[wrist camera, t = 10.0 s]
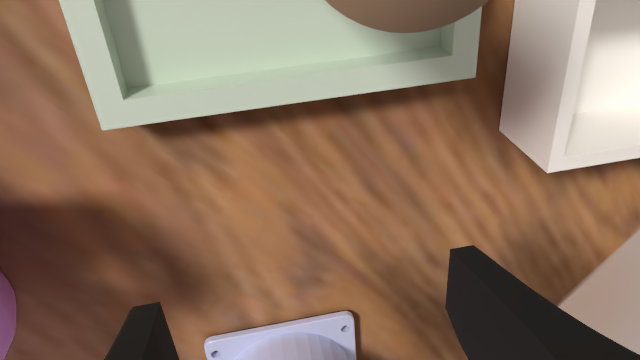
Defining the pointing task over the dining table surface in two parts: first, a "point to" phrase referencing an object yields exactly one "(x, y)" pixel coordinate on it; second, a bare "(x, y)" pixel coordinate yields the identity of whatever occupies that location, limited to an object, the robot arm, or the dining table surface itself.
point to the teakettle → (6, 315)
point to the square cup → (573, 82)
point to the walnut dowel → (405, 13)
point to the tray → (248, 56)
